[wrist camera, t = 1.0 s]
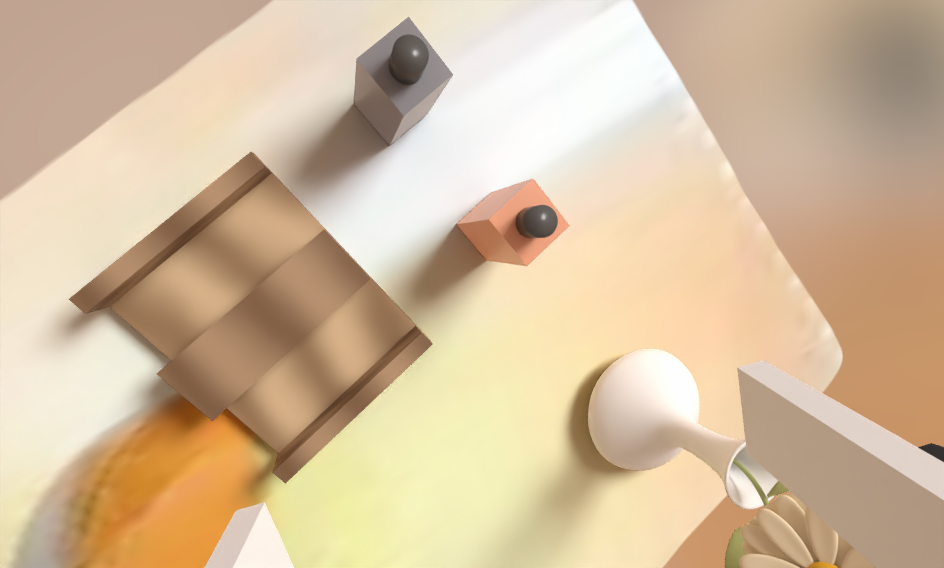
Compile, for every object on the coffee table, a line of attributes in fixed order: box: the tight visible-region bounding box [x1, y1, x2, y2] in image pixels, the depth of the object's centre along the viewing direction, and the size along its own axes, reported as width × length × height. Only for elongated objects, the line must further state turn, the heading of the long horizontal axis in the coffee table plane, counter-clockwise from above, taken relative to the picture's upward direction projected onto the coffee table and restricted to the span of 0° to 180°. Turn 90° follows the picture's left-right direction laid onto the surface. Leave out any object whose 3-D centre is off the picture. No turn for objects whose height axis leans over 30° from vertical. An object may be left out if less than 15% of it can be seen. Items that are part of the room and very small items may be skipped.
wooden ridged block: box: [69, 152, 432, 483], centre depth 33 cm, size 14×19×4 cm
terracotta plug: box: [456, 179, 569, 266], centre depth 33 cm, size 4×4×11 cm
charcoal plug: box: [354, 17, 453, 146], centre depth 30 cm, size 4×4×11 cm
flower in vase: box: [588, 349, 876, 568], centre depth 32 cm, size 13×11×25 cm
